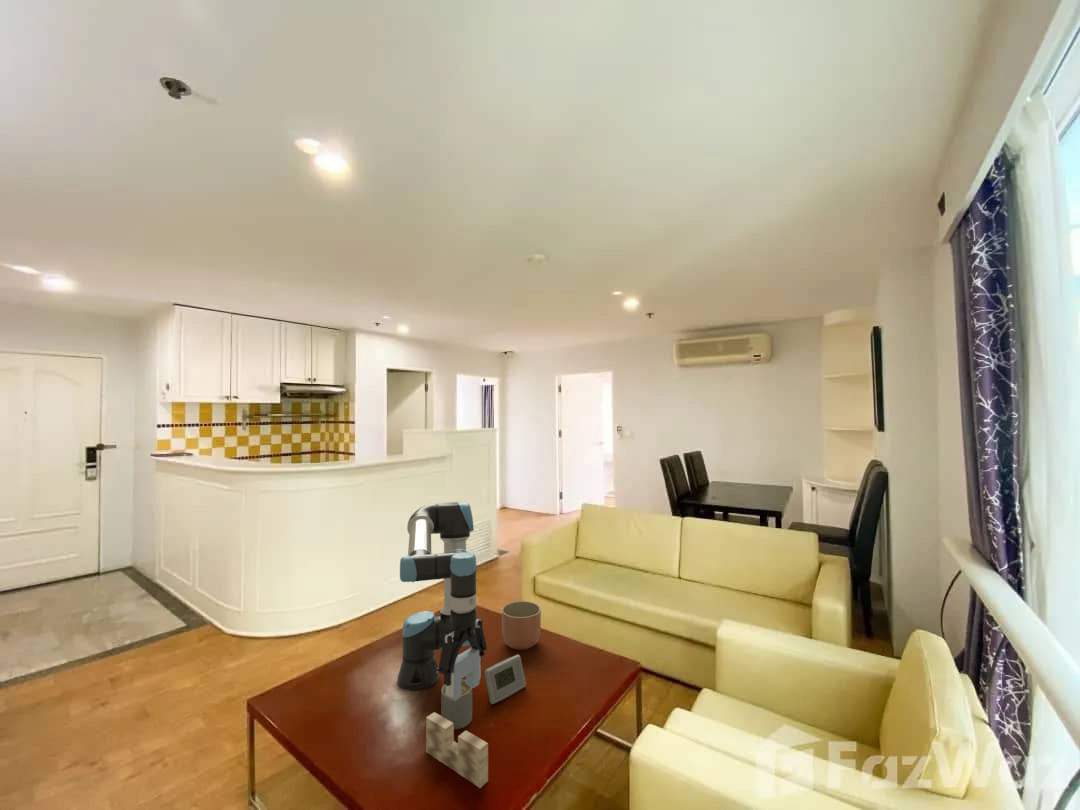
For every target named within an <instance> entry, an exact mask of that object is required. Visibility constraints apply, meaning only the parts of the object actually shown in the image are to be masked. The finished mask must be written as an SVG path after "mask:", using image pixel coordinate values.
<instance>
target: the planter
mask: <svg viewBox="0 0 1080 810" xmlns="http://www.w3.org/2000/svg"><path fill="white" fill-rule="evenodd" d="M541 617H542V608H541V606H540V605H539V604H537V603H535V602H534V601H533V602H531V601H525V600H521V601H518V600H517V601H511V602H509V603H507V604H505V605H504V606H502V608H501V627H502V628H501V630H502V631H501V632H502V639H503V641H504V643H505V644H506V645H507V646H508V647H509V648H511V649H512V650H517V651H524V650H529V649H531V648H533V647H534V646H535V645H536V644H537V643H538V642H539V639H540V636H541V626H542V623H541V622H542V618H541Z"/></svg>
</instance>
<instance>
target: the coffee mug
mask: <svg viewBox="0 0 1080 810" xmlns="http://www.w3.org/2000/svg"><path fill="white" fill-rule="evenodd" d="M440 694H441V695H440V696H441V699H440V700H441V702H440V703H441V704H440V705H441V708H440V709H441V710H440V711H441V713H440V716H442V717H444V718H446V719H447V720H449V721H451V722H452V723H454V730H459V729H463V728H465V727H467V726H468V725H469V724H470V723H471V722H472V720H473V688H472V687H470V686H468V685H466V679H463V678H462V679H461V697H460V698H459V699H457V700H456V701H453V700H451V699H449V698H447V695H446V685H445V684H443V685H442V687H441V692H440Z"/></svg>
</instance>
